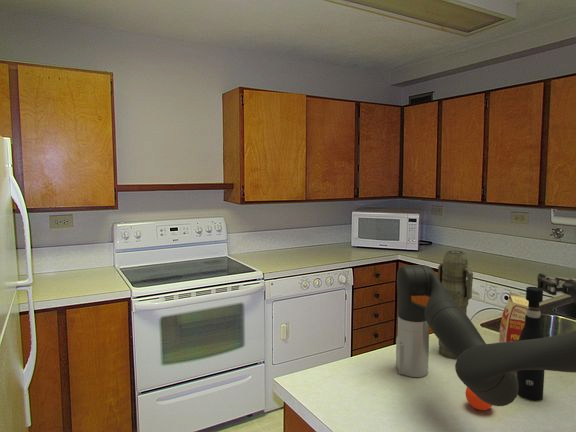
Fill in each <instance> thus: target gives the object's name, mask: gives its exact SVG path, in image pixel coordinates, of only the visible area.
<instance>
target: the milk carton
mask: <svg viewBox="0 0 576 432" xmlns="http://www.w3.org/2000/svg"><path fill="white" fill-rule="evenodd" d="M508 296H509V297H507V298H508V299H507V301H506V304H505V307H504V308H503V309H504V310H503V312H502V316H501V321H500V325H499V335H498V336H499V337H498V341H499V342H498V343H502V342H511V341H519V337H520V334H521V332H522V330H523V327H524V325H525V315H527V314H526V313H527V311H526V310H527V308H529V307H528V304H529V301H528V300H526V294H519V293H517V292H512V291H509V295H508Z"/></svg>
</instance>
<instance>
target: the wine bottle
mask: <svg viewBox="0 0 576 432" xmlns="http://www.w3.org/2000/svg"><path fill="white" fill-rule="evenodd" d="M525 291H526V292H525V296H526V300H528V301H529V304H528V307H529V308H527V310H526V311H527V313H526V314H527V315H525V325H524V327H523V330H522V332H521V334H520V337H519V340H529V339H538V338H545V336H544V333H543V331H542V330H543V329H542V317H541V310H540V303H542V302H543V299H544V291H543V290H541V289H539V288H538V286H527V287H526V290H525ZM517 379H518V386H519V389H518V394H517V396H519V397H520V398H523V399H525V400H527V401H534V402H535V401H536V402H537V401H538V402H539V401H541V400H543V398H544V383H545V370H519V371H517Z"/></svg>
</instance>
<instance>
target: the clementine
mask: <svg viewBox="0 0 576 432" xmlns="http://www.w3.org/2000/svg"><path fill="white" fill-rule="evenodd" d="M464 393H465V397H466V401H467V402H468V404H469V405H470V406H471V407H472V408H474V409H476V410H479V411H487V410H489V409H490V408H492V406H493V405H490V404H488V403H486V402H484V401H482V400H481V399H480V398H478V397H477V396H476V395H475V394H474V393H473V392H472V391H471V390H470V389H469V388H468V387H467V386H466V389H465V392H464Z"/></svg>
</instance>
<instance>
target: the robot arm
mask: <svg viewBox="0 0 576 432" xmlns="http://www.w3.org/2000/svg"><path fill="white" fill-rule="evenodd" d="M536 280H537V287H538V288H539V289H541V290H543V292H545V293H547V294H549V295H551V296H557V294H562V295H567V296H568V297H569V298H571V299H572V301H573V302H574V304H575V305H576V278H574V277H572V278H568V277H562V276H557V277H551V276H549V275H547V274H544V273H538V275H537V279H536ZM562 282H563V283H562ZM396 289H397V290H396V291H397V336H396V337H395V340H396V341H395V343H396V344H395V367H396V371H397V373H398V374H399V375H403V376H406V377H409V378H410V377H411V378H423V377H425V376H427V375H428V373H429V355H430V354H429V352H430V351H429V347H430V344H429V343H430V329H431V331H432V332H433V334H434V335H435V336H436V338H437V339H438V341H439V340H440V341H441V342H442V344H443V345H444V346H445V347H446V348H447V349H448V350H449V351H450V352H451V353H452V354H453V355H454V356H455V357H456V358H457V359H456V361H455V364H454V368H455V369H454V370H455V373H456V376H457V377H458V379H459V380H460V381H461V382H462V383H463V384H464V386H465V387H466V388H467V387H468V388H469V389H470V390H471V391H472V392H473V393H474V394H475V395H476V396H477V397H478V398H480V399H481V400H482V401H484V402H486V403H488V404H490V405H492V406H493V407H505V406H508V405H510V404H512V403H513V402H514V401H515V399H516V398H517V396H518V389H519V386H518V379H517V377H516V375H515V373H514V371H519V370H544V371H551V372H552V371H553V372H562V373H574V374H575V373H576V330H575V331H571V332H566V333H562V334H557V335H552V336H551V335H550V336H544V338H538V339H529V340H519V341H511V342H502V343H500V342H494V343H486V341H485V340H484V339H483V337H482V335H481V334H480V333H479V331H478V329H477V327H476V325H474V323H473V321H471V319H470V317H468V315H467V314H465V312H464V311H463V310H462V309H461V307H460V306H459V305H458V304H457V303H456V302H455V301H454V300H453V298H452V297H451V296H450V295H449V293H448V292H447V291H446V289H445V288H444V287H443V285H442V283H441V282H440V280H439V278H438V274H436V272H435V271H434V269H433V268H432V267H430V266H429V265H426V264H415V265H414V264H410V265H408V264H407V265H406V264H405V265H401V266H399V268H398V270H397V273H396ZM418 296H419V297H421V296H422V297H423V296H425V297H428V301H427V302H426V305H423V304H421V303H417V302H415V301H413V300H412V297H418Z"/></svg>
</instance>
